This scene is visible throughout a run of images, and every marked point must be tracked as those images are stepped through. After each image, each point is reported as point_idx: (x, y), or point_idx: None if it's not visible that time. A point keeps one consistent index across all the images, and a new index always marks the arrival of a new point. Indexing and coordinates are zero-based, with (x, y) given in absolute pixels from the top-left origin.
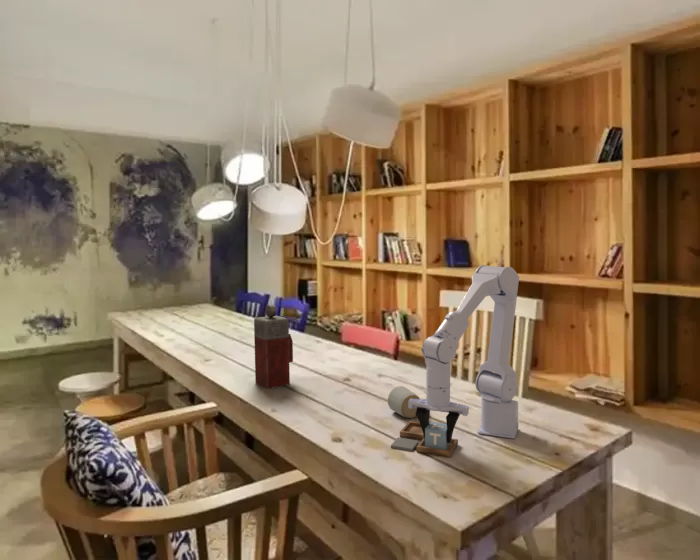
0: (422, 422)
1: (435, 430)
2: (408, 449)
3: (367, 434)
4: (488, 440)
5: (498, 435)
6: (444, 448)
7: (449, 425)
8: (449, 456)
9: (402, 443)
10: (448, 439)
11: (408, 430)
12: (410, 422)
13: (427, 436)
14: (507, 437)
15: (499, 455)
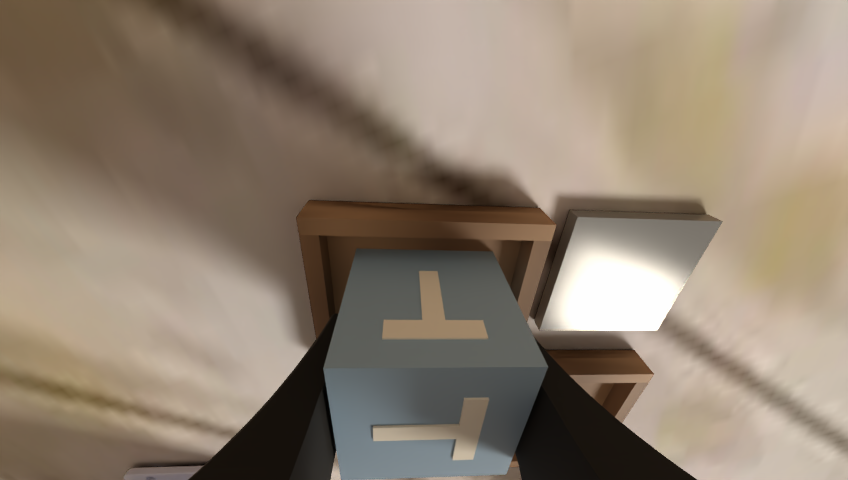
0: (605, 438)
1: (435, 365)
2: (598, 214)
3: (806, 324)
4: (221, 431)
5: (194, 470)
6: (359, 261)
7: (259, 459)
8: (313, 203)
9: (638, 269)
10: (331, 330)
11: None
12: None
13: (500, 309)
14: (156, 467)
15: (69, 322)
